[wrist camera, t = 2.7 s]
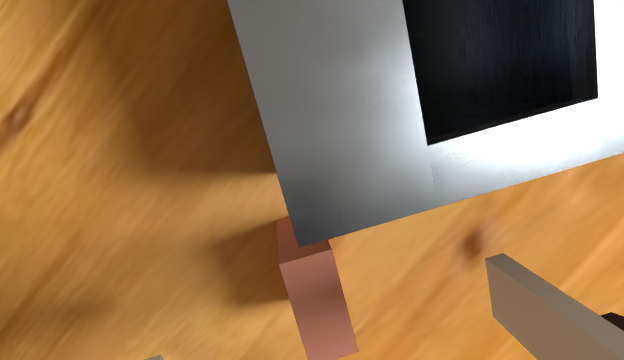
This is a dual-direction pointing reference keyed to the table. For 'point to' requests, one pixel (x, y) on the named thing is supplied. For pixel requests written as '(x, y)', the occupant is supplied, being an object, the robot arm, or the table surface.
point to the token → (315, 296)
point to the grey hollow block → (427, 99)
